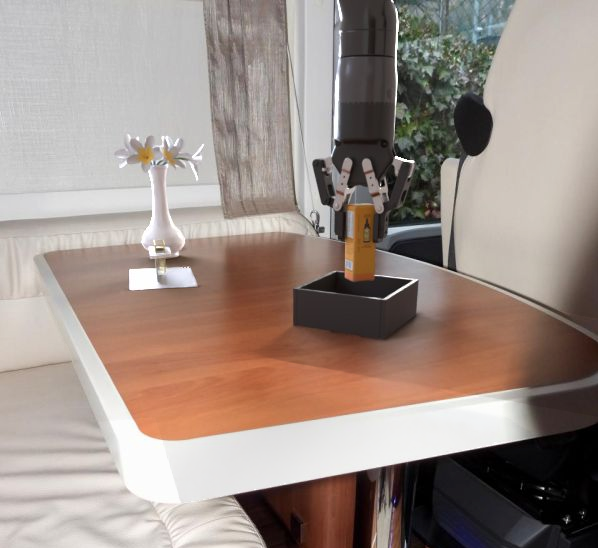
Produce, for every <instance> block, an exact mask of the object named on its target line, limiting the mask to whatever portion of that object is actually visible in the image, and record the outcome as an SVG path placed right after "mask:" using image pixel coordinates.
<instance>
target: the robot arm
mask: <svg viewBox="0 0 598 548" xmlns="http://www.w3.org/2000/svg"><path fill="white" fill-rule="evenodd" d="M336 3H337V7H338V15H339V21H338V22H339V23H338V44H337V45H338V47H337V49H338V50H337V51H338V52H337V66H336V67H337V68H336V72H335V73H336V74H335V83H334V84H335V86H334V87H335V88H334V94H333V95H334V96H333V97H334V132H333V133H334V135H333V137H334V147H333V149H332V152H331V155H329V156H325V157H323V158H321V157H319V158H314V159H313V160H312V163H311V165H312V170H313V174H314V179H315V182H316V183H315V184H316V188H317V191H318V196H319V200H320V203H321V205H322V206H327V207H329V208H330V209H332V210H333V212H334V222H333V223H334V224H333V225H334V227H333V232H334V235H335V236H337V240H338V241H345V237H346V205H347V204H350V203H351V198H352V195H353V194H354V192H355V190H356V187H358V186H362V187H364V188H368V193H369V195H370V197H371V198H372V204H374V207H375V211H376V214H374V220H373V243H376V244H379V243H382V242H383V241H384V239H386V238H387V236H388V234H389V220H390V219H389V217H390V216H389V215H390V213H391V211H393V210H396V209H399V208H402V207H403V206H404V204H405V202H406V198H407V195H408V192H409V189H410V186H411V183H412V180H413V177H414V174H415V171H416V168H417V162H416V161H415V160H414V159H410V160H407V159H404V158H401V157H398V156H397V154H396V151H395V147H394V140H395V130H396V129H395V128H396V127H395V125H396V111H397V110H396V109H397V90H398V71H397V53H398V52H397V50H398V32H399V19H398V11H397V8H396V6H395V4H394V1H393V0H336ZM334 167H335V169H336V171H337V172H338V175H339V179H338V182H337V185H336V187H335V186H334V181H333V177H332V173H333V171H334ZM393 167H394V171H393V172H394V175H395V177H396V180H395V182H394V185H393V188H392V191H391V195H390V197H389V195H388V193H389V188H388V183H387V179H386V176H387V174H388V173H389V172H390V171H391V169H392V168H393Z"/></svg>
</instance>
